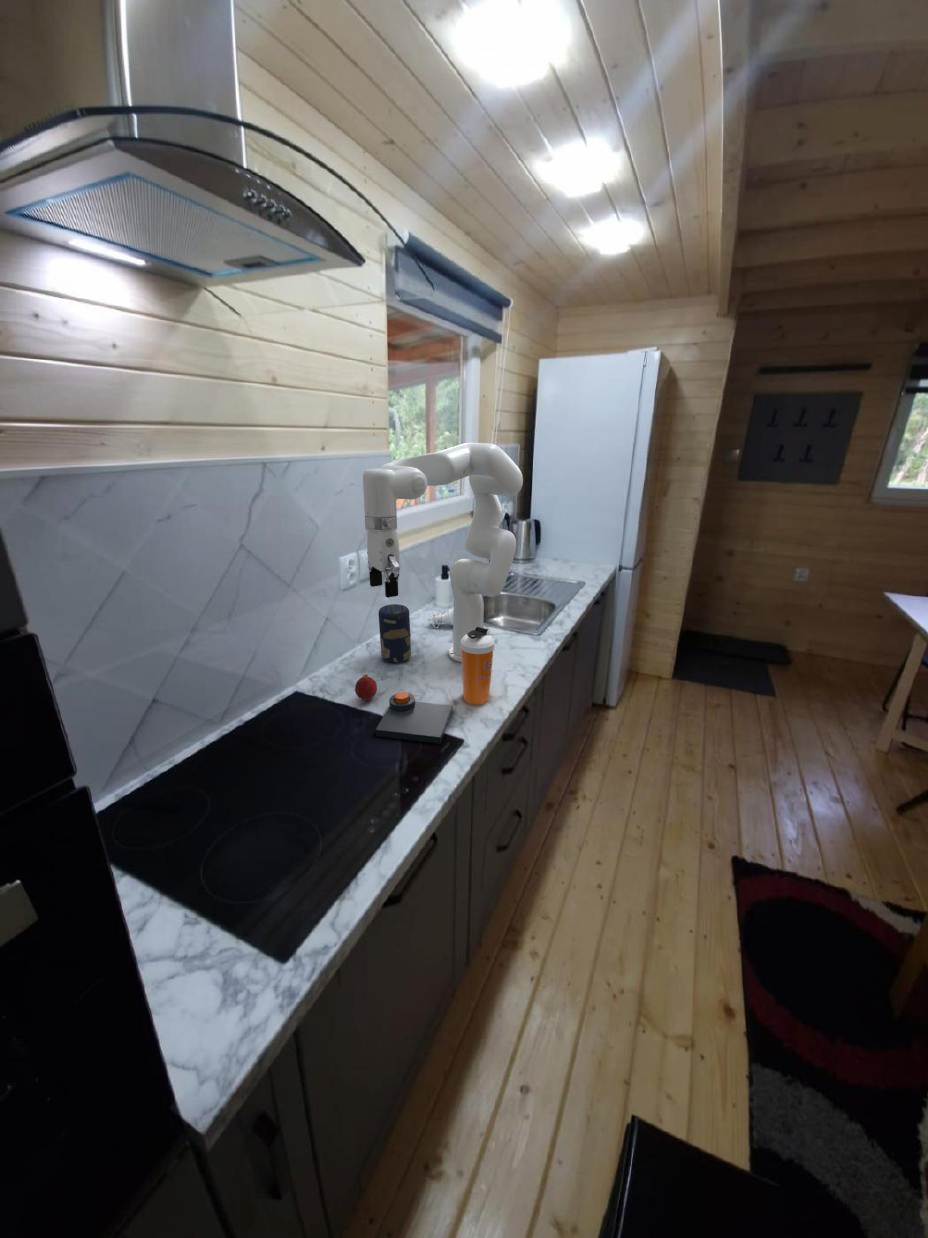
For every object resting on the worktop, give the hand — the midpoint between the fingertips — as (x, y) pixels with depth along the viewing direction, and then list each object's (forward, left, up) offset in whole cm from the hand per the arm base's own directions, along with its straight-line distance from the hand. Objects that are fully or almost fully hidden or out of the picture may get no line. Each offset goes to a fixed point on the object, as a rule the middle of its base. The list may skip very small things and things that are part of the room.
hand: (383, 590), depth 124 cm
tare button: (+6, +5, -28) cm, 29 cm away
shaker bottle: (-4, +23, -31) cm, 39 cm away
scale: (+11, +10, -31) cm, 34 cm away
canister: (-23, -6, -31) cm, 39 cm away
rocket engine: (-54, +8, -31) cm, 62 cm away
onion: (+3, -6, -31) cm, 32 cm away
